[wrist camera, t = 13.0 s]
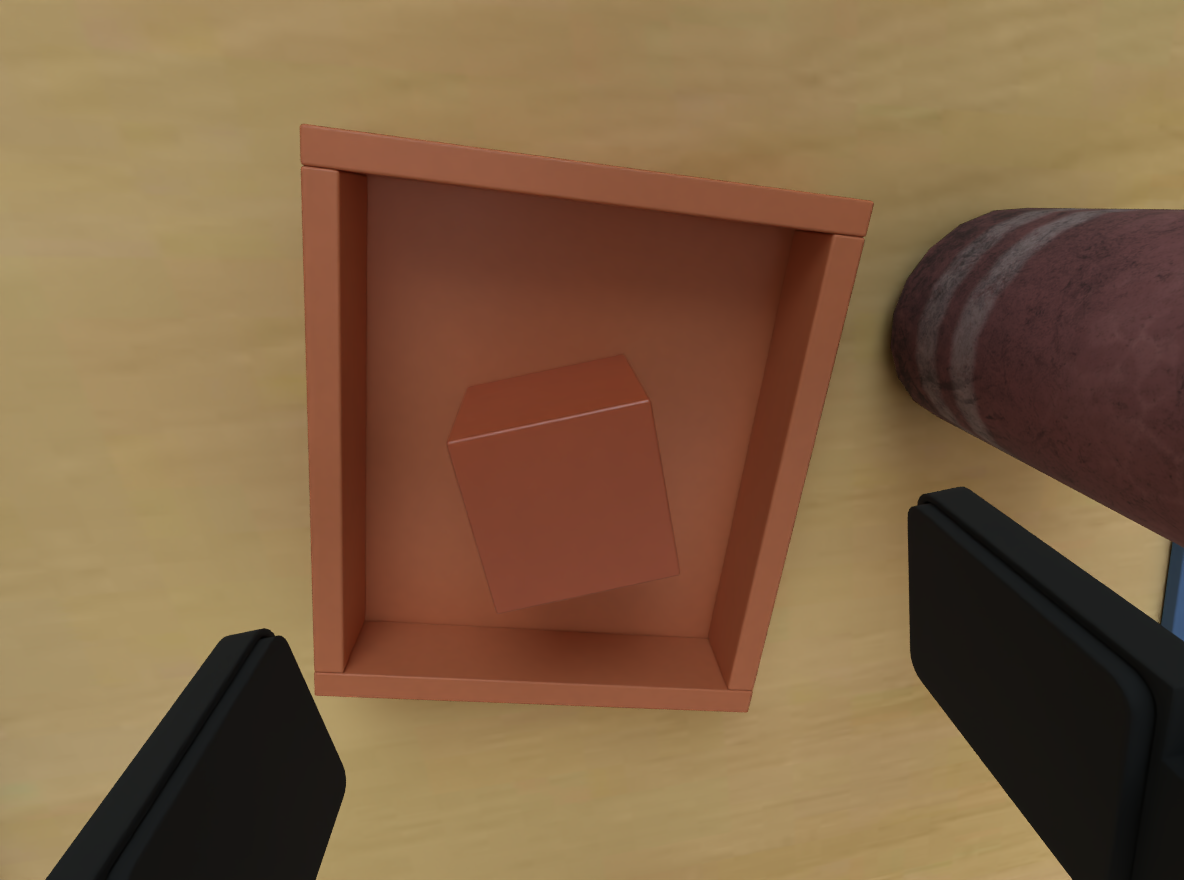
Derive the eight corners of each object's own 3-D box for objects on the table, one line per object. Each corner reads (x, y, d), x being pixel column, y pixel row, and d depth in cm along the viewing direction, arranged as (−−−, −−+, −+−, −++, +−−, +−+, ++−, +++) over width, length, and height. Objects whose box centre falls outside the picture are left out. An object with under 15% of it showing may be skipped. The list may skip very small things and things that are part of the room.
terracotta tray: (340, 137, 16) (298, 122, 13) (820, 201, 18) (875, 201, 15) (344, 628, 21) (314, 696, 18) (720, 647, 23) (748, 713, 20)
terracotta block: (465, 386, 18) (444, 442, 14) (624, 352, 18) (651, 398, 14) (504, 527, 20) (496, 616, 15) (650, 496, 20) (681, 576, 15)
